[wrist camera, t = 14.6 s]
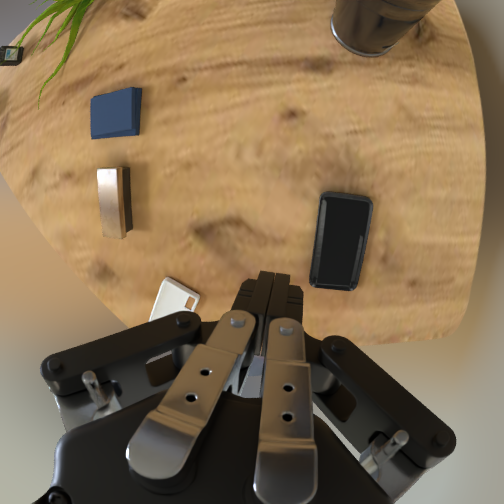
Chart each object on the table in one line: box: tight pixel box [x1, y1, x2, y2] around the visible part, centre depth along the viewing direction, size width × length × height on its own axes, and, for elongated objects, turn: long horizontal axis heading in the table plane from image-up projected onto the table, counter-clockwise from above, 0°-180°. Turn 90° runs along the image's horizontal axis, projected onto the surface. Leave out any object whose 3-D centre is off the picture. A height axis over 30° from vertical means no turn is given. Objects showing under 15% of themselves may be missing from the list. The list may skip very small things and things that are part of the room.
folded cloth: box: [91, 87, 142, 139], centre depth 36 cm, size 8×10×2 cm
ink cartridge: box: [0, 46, 24, 66], centre depth 29 cm, size 5×2×8 cm, turn 0°
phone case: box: [149, 277, 200, 322], centre depth 51 cm, size 7×1×15 cm
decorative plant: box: [1, 0, 94, 110], centre depth 24 cm, size 18×30×15 cm, turn 119°
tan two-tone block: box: [97, 167, 133, 239], centre depth 42 cm, size 12×4×4 cm, turn 176°
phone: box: [309, 192, 373, 291], centre depth 39 cm, size 8×1×15 cm
